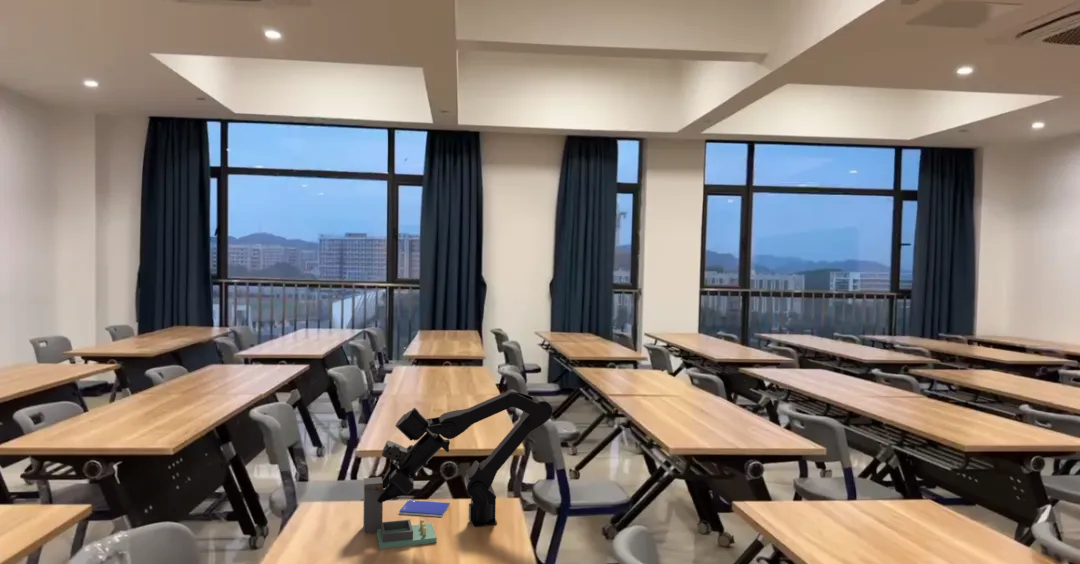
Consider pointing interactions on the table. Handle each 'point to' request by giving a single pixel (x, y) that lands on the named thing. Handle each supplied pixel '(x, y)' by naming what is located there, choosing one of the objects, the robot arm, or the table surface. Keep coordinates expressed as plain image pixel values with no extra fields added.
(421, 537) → the header board
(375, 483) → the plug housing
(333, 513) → the table surface
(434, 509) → the hard drive
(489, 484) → the robot arm
